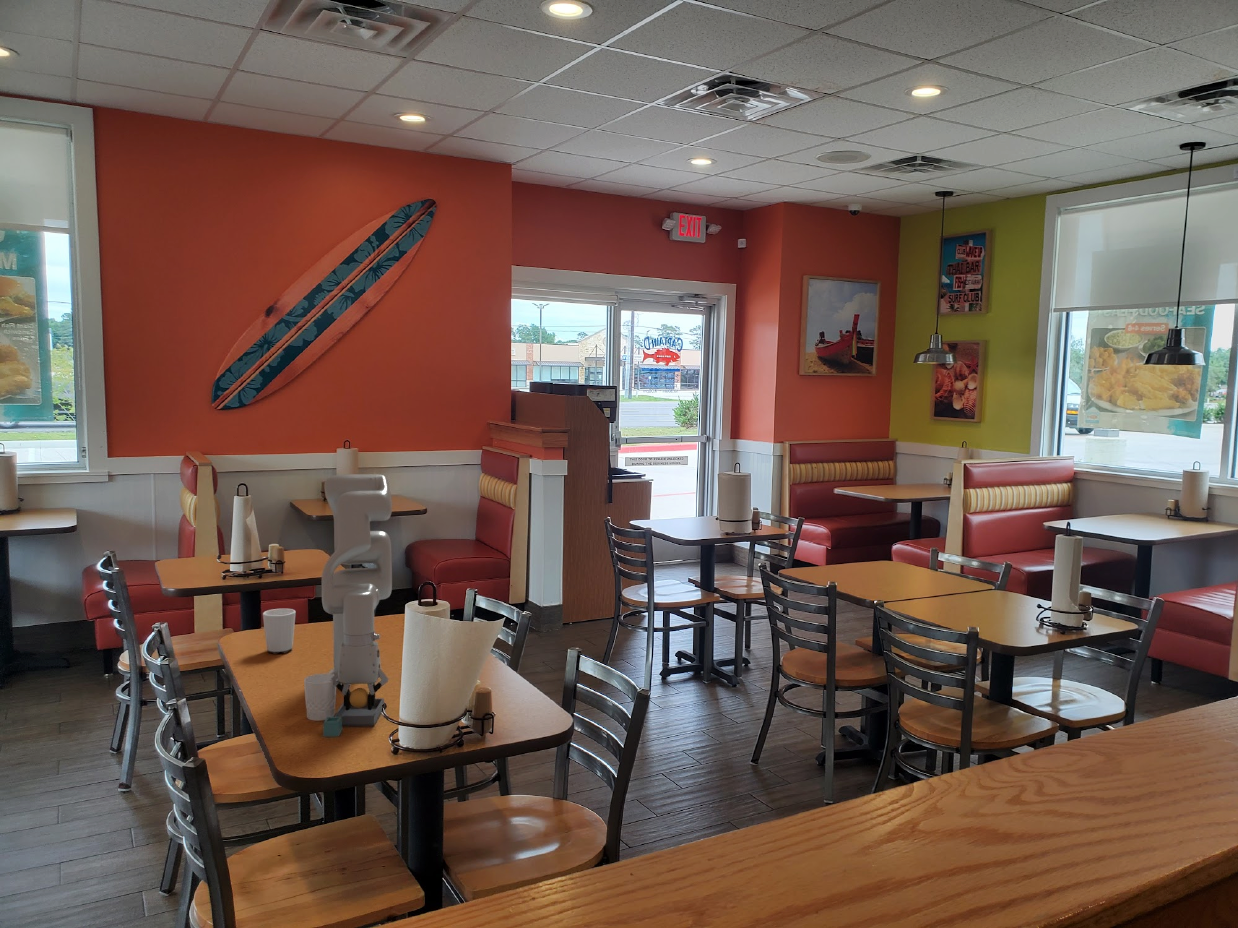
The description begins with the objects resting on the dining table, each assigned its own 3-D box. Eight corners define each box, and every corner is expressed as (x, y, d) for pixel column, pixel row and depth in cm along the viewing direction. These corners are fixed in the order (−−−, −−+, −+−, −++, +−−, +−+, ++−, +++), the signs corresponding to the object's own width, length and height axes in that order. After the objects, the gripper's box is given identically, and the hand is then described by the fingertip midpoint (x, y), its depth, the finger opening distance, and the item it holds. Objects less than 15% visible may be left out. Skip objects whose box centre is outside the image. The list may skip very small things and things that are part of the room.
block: (327, 730, 216) (327, 716, 216) (342, 730, 217) (342, 716, 216) (323, 736, 213) (323, 722, 212) (338, 736, 213) (338, 721, 213)
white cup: (326, 723, 222) (326, 684, 221) (298, 720, 223) (297, 681, 222) (342, 712, 229) (342, 674, 228) (315, 709, 231) (314, 672, 230)
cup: (284, 644, 289) (284, 606, 288) (302, 650, 283) (302, 611, 282) (256, 651, 281) (256, 612, 280) (274, 657, 275) (274, 617, 274)
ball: (351, 704, 228) (351, 685, 227) (371, 703, 228) (371, 684, 228) (347, 710, 223) (347, 691, 223) (367, 710, 223) (367, 691, 223)
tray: (345, 708, 232) (345, 698, 232) (384, 707, 233) (384, 698, 233) (333, 726, 219) (333, 716, 219) (374, 726, 220) (374, 716, 220)
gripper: (395, 634, 229) (395, 702, 230) (328, 634, 227) (329, 703, 229) (390, 642, 221) (390, 713, 222) (320, 642, 220) (321, 713, 221)
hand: (359, 707), depth 226 cm, fingers closed on ball, 4 cm apart
